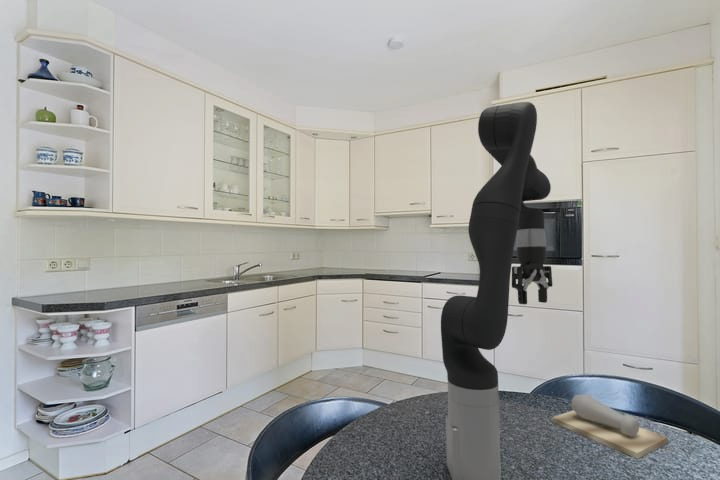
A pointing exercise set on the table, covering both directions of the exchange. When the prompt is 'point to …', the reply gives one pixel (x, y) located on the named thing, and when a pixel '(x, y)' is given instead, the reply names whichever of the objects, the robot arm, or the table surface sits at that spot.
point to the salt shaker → (604, 415)
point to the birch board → (612, 435)
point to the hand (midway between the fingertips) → (533, 303)
